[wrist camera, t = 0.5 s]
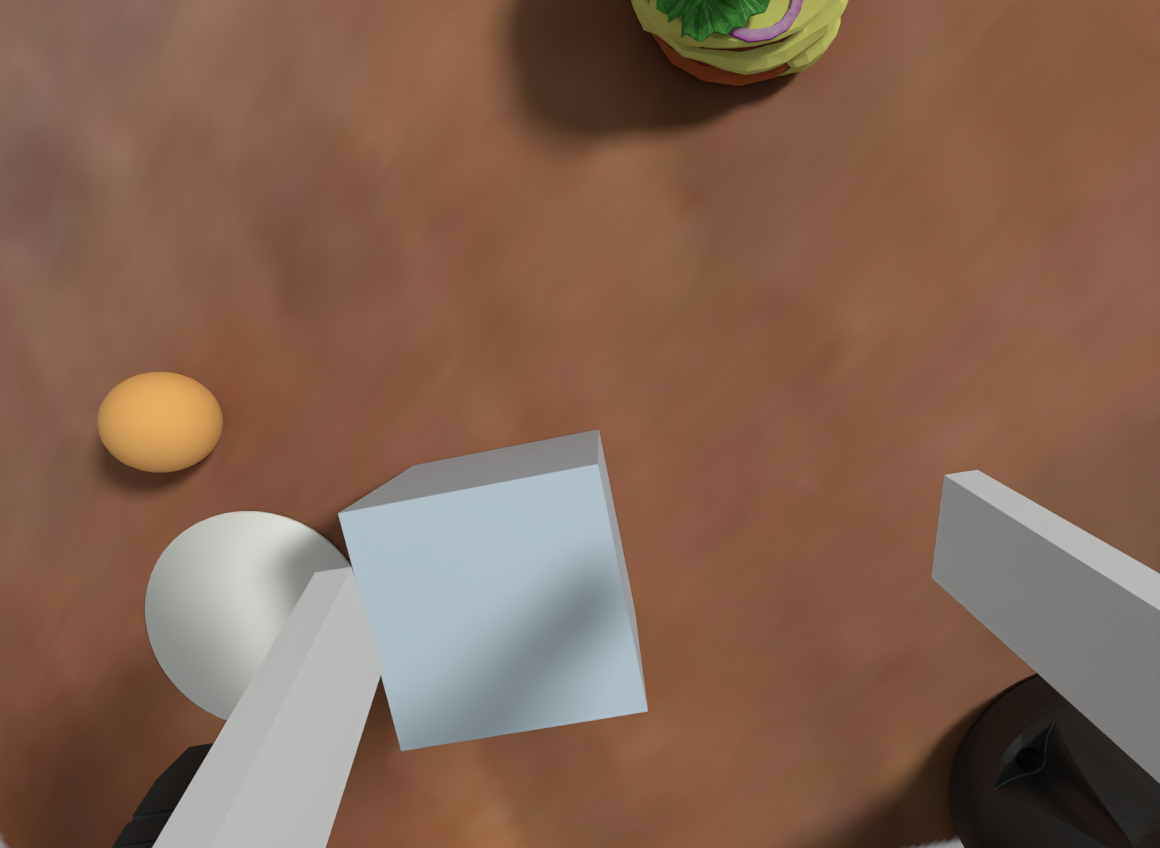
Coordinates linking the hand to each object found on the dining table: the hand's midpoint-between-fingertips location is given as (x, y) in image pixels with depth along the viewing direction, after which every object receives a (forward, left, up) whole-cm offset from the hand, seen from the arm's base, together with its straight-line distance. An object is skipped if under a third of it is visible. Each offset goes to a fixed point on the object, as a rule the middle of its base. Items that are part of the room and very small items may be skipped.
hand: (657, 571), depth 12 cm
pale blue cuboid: (-4, +6, -17) cm, 19 cm away
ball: (+6, +22, -15) cm, 27 cm away
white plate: (-6, +22, -17) cm, 29 cm away
